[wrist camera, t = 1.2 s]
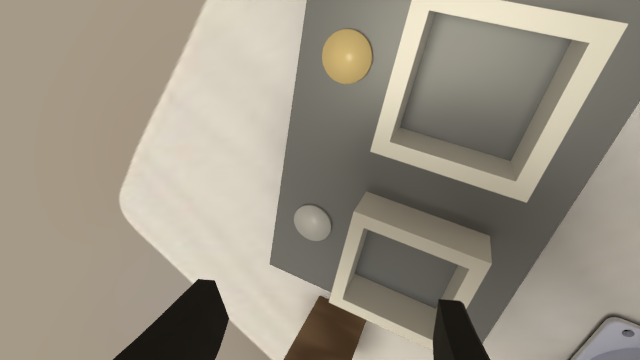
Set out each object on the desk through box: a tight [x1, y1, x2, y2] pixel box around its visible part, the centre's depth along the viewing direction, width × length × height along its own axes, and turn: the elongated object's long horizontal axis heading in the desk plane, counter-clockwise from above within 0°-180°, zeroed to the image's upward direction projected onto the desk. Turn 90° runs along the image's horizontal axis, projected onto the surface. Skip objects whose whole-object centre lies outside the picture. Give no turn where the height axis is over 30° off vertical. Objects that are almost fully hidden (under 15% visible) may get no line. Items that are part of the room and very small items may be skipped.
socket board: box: [270, 0, 640, 351], centre depth 18 cm, size 15×21×4 cm
